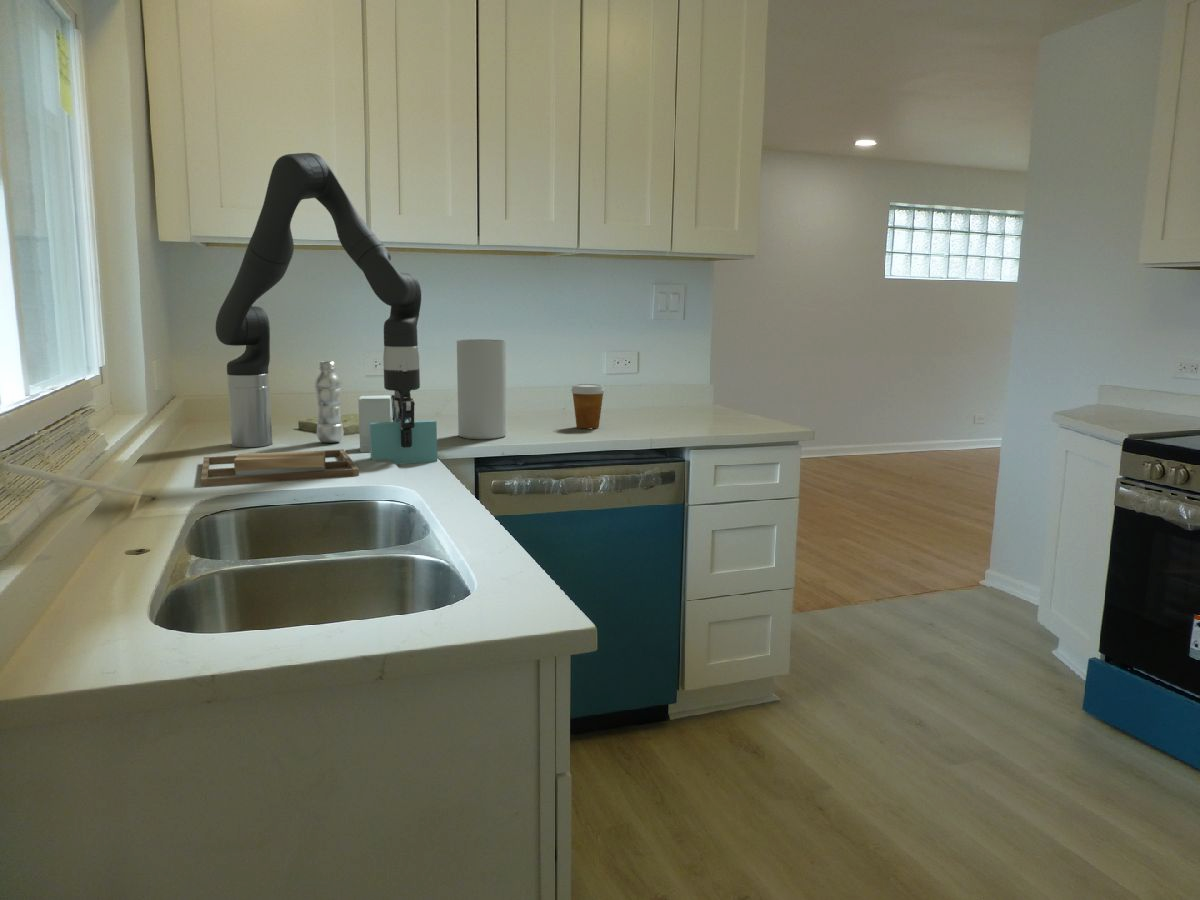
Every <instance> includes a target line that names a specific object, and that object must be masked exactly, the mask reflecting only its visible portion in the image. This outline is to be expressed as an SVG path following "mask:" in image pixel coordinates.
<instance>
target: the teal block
mask: <svg viewBox="0 0 1200 900" xmlns="http://www.w3.org/2000/svg"><path fill="white" fill-rule="evenodd" d="M408 422H409V420H407V421H405V423H408ZM414 425H415V426H414V428H413V429H412V446H411V447H405V448H403V447H402V446H401V429H400V422H393V421H392V422H381V423H369V427H370V452H369V453H370V460H372V461H381V460H383V461H384V460H390V461H391V462H392V463H393V464H394V465H401V464H402V465H403V464H419V463H420V464H421V463H434V462H435V463H436V462H438V432H437V429H438V428H437V420H434V419H429V420H426V419H425V420H414Z"/></svg>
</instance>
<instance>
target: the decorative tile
mask: <svg viewBox="0 0 1200 900" xmlns="http://www.w3.org/2000/svg"><path fill="white" fill-rule="evenodd" d="M341 421H342V422H341V423H342V425H343V430H344V434H343V437H344V436H345V437H346V436H352V435H360V432H359V413H346V414H341ZM297 423H298V425H297V426H298V429H299V428H301V429H300V430H304V429H305V431H309V430H310V431H311V432H315V433H317V425H318V416H314V417H309V418H307V419H299V420H298V422H297Z"/></svg>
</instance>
